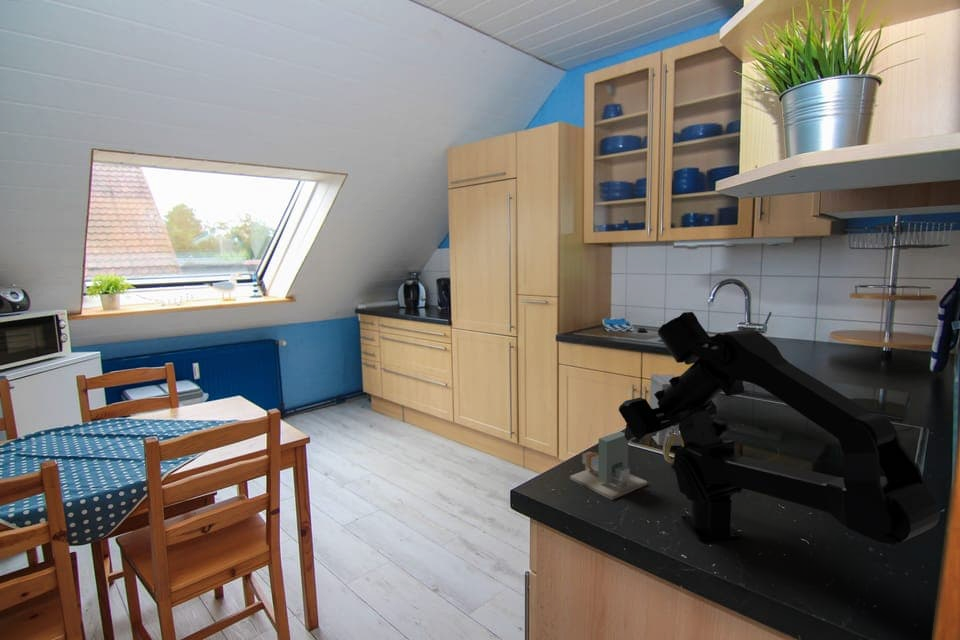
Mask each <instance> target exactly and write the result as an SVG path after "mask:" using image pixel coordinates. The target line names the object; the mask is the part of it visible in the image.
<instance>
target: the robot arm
mask: <svg viewBox="0 0 960 640" xmlns="http://www.w3.org/2000/svg"><path fill="white" fill-rule="evenodd" d="M657 334H658V336H659V338H660V340H661V341H662V342H663V344H664V345H665V348H667V350H668V351H669V353H670V355H671V356H672V358H673V359H674V360H675V362H676V363H677V364H678V363H684V364H685V365H689V366H690V367H688V368H687V369H686V370H685V371H684V372H683V373H682V374H680V375H677V376H676V377H673V378H671V379H670V380H669V382H670V384H671V385H670V386H669V387H668V388H667V389H665V390H661V391H657V392H656V393H655V394H654V395H655V397H656V398H657V400H658V406H659V407H658V408H654V409H652V408H651V407H650V405H649V402H648V401H647V399H646V398H643V397H640V396H639V397H635V398H631V399H628V400H624V401H623V402H622V403H621V404H620V406H618V412H619V413H620V415H621V417H622V418H623V420H624V421H625V423H626V425H625V431H624V433H625V435H624V436H625V438H626V440H627V441H628V442H630V441H631V440H633V439H637V440H639V441H641V440H645V439H648V438H652V436H656V434H657V433H658V432H660V431H662V430H664V429H667V428H669V427H671V426H676V425H678V424H679V430H680V433H681V436H682V439H683V442H684V446H683V447H682V446H679V447H677V449H676V450H675V452H674V456H673V458H674V464H673V467H674V470H675V471H674V472H675V476H676V480H677V484H678V490H679V492H680V493H682V494H683V495H685V497H686V499H687V500H689V501H690V503H689V505H690V506H689V515H682V516H680V520H681V522H682V523H683V524H684V525H685V526H686V527H687V528H688V529H689V531H690V532H691V533H692V534H693V535H694V536H695V537H696V538H697V539H698V540H699V541H702V542H705V541H706V542H707V541H716V540H717V541H719V540H720V541H721V540H733V539H734V540H735V539H739V538H740V536H741V535H740V533H739V532H738V531H737V530H736V529H734V527H732V525H731V523H732V508H733V507H732V505H733V500H732V495H735V494H737V493H738V494H739V493H742V492H743V490H747V491H750V492H753V493H757V494H761V495H765V496H768V497H773V498H776V499H778V500H782V501H785V502H788V503H793V504H795V505H796V504H797V505H800V506H804V507H807V508H810V509H813V510H817V511H820V512H823V513H827V514H829V515H831V516H832V517H833V518H835V520H837V521H838V522H839V523H840V524H841V525H842V526H844V527H845V529H847V530H850V531H852V532H853V533H856V534H858V535H861V536H863V537H865V538H867V539H869V540H871V541H874V542H876V543H879V544H882V545H888V546H893V545H898V544H901V543H903V542H905V541H907V540H909V539H911V538H913V537H915V536H918V535H920V534H922V533H924V532H926V531H928V530H930V529H932V528H934V527H935V526H936V525H937V523H939V521H940V519H941V518H940V517H941V509H940V506H939V503H938V500H937V499H936V498H935V496H934V495H933V494H932V493H931V491H930V490H929V489H928V487H927V486H928V485H927V484H926V481H925V479H924V477H923V474H922V471H921V468H920V467H919V466H918V464H917V463H916V461H915V460H914V459H913V458H912V456H911V455H910V453H909V452H908V451H907V450H906V448H905V447H904V446H903V445H902V443H901V440H900V438H899V435H898V433H897V430H896V428H895V426H894V425H893V423H892V422H891V421H890V420H889V419H888V418H886V417H884V416H883V415H882V416H881V415H879V414H877V413H874V412H872V411H870V410H868V409H867V408H865V407H864V406H862V405H860V404H858V403H857V402H855V401H853V400H852V399H850V398H848V397H847V396H845V395H843V394H842V393H840V392H839V391H836V390H835V389H834V388H832V387H830V386H828V385H826V384H825V383H823V382H822V381H820V380H818V379H817V378H815V377H814V376H812V375H810V374H808V373H807V372H805V371H803V370H802V369H801V368H798V367H797V366H795V365H794V364H792V363H790V362H789V361H788V360H787V359H786V358H785V357H783V355H782V354H781V352H780V351H779V349H778V347H777V345H776V344H774V343H773V342H771V340H769V339H768V338H767V337H766V336H765V335H763V334H762V333H761V332H759V331H757V330H755V329H750V328H749V329H740V330H732V331H724V332H723V331H722V332H719V333H716V334H714V335H713V336H710V335H709V334H708V333H707V331H706V330H705V328H703V326H702V324H701V323H700V322H699V320H698V317H697V316H696V315H695V312H693V311H686V312H685V311H684V312H682V313H681V314H680V315H679V316H677V317H674V318H672V319H670V320H668V322H667V323H665V324H662V325H661V326H660V327H659V328H658V331H657ZM744 382H745V383H750V384H752V385H756V386H758V387H760V388H762V389H763V390H764V391H766V392H768V393H769V394H771V396H774V397H775V398H777V399H778V400H779V401H781V402H783V403H784V404H785V405H787V406H788V407H789V408H791V409H792V410H794V411H795V412H797V413H798V414H800V415H801V416H802V417H804V418H806V419H807V420H809V421H810V422H812V423H813V424H815V425H816V426H818V427H819V428H820V429H822V430H823V431H824V432H825V433H828V434H829V435H831V436H832V437H833V438H836V439H837V441H838V442H839V445H840V448H841V450H842V454H843V477H839V476H834V475H830V474H826V473H822V472H818V471H817V472H816V471H812V470H807V469H803V468H799V467H793V466H790V465H784V464H780V463H776V462H773V461H772V462H771V461H766V460H763V459H759V458H758V459H757V458H753V457H748V456H744V455H741V454H740V453H739V452H738V451H737V450H736V449H735V447H736V446H735V443H736V442H735V440H734V439H733V440H725V439H723V438H722V437H724V436H725V435H727V433H729V431H730V428H729V425H728V422H727V421H724V420H721V419H718V418H715V416H716V415H717V405H716V403H715V402H714V401H713V399H714V398H715V397H717V396H719V394H721V393H722V392H723V393H724V395H725V396H727V397H731V396H732V397H733V396H738V395H744V394H745V386H744ZM880 468H881V469H882V471H883V473H884V475H885V476H881V469H880Z"/></svg>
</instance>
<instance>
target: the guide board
mask: <svg viewBox="0 0 960 640" xmlns="http://www.w3.org/2000/svg"><path fill="white" fill-rule="evenodd" d="M569 480H571V481H573V482H575V483H577V484H579V485H580V486H583V487H585V488H587V489H588V490H591V491H593V492H595V493H597V494H599V495H601V496H603V497H605V498H607V499H609V500H612V501H613V500H616V499H617V498H619V497H621V496H624V495H626V494H628V493H631V492H633V491H635V490H638V489H640V488H642V487H644V486H647V485H648V481H647V480H645V479H642V478H641V477H638V476H636V475H633V474H631V473H629V479H628V480H627V486H626V487H621V486H619V485H618V479H616V478H614V477H612V482H611V483H609V484H605V483H602V482H600V481H598V470H596V469H594V471H591V472H589V471H586V470H582V471H580V472H577V473H574V474H572V475H570V476H569Z"/></svg>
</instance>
